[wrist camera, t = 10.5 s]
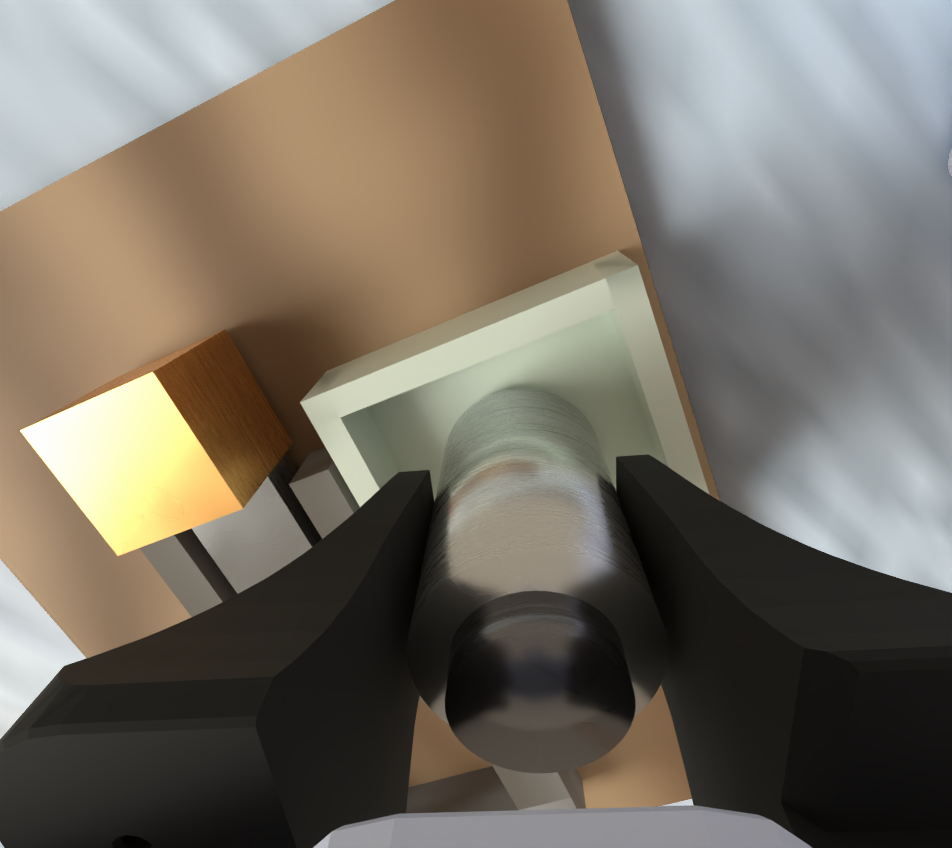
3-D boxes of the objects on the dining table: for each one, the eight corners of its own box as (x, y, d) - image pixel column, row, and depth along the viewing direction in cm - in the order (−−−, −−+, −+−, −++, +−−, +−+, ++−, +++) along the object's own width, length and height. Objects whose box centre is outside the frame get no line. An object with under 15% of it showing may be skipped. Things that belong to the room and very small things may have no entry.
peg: (631, 432, 13) (744, 666, 7) (551, 549, 15) (588, 833, 8) (488, 360, 13) (476, 548, 7) (418, 490, 14) (355, 746, 8)
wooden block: (225, 329, 13) (152, 372, 10) (424, 664, 17) (409, 761, 14) (116, 377, 14) (19, 430, 11) (332, 692, 17) (300, 790, 15)
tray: (617, 250, 12) (638, 265, 11) (701, 509, 15) (729, 558, 13) (326, 371, 14) (300, 402, 12) (446, 591, 16) (439, 645, 14)
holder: (539, -59, 11) (550, -119, 9) (788, 744, 19) (829, 825, 17) (-163, 312, 15) (-291, 340, 12) (298, 861, 23) (274, 942, 20)
